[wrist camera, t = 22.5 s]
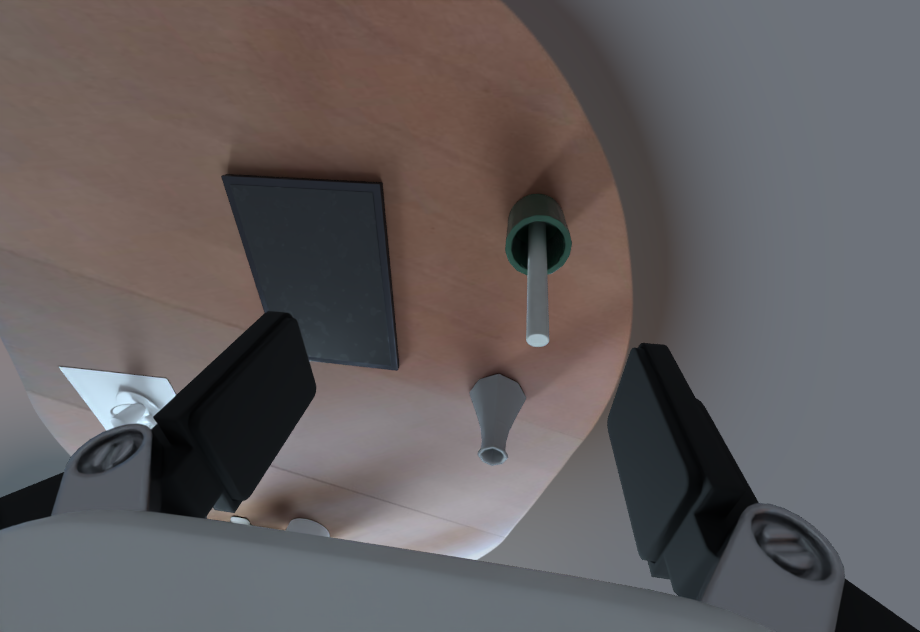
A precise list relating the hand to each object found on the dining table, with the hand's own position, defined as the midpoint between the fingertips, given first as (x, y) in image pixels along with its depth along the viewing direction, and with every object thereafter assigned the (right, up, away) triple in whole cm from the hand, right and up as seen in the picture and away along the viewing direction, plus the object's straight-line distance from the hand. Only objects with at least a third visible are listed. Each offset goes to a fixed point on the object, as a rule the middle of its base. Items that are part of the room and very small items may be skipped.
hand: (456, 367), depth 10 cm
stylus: (+8, +11, +25) cm, 29 cm away
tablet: (-16, +6, +33) cm, 38 cm away
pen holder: (+8, +11, +26) cm, 29 cm away
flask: (+5, -9, +39) cm, 41 cm away
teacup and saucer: (-56, -16, +54) cm, 80 cm away
